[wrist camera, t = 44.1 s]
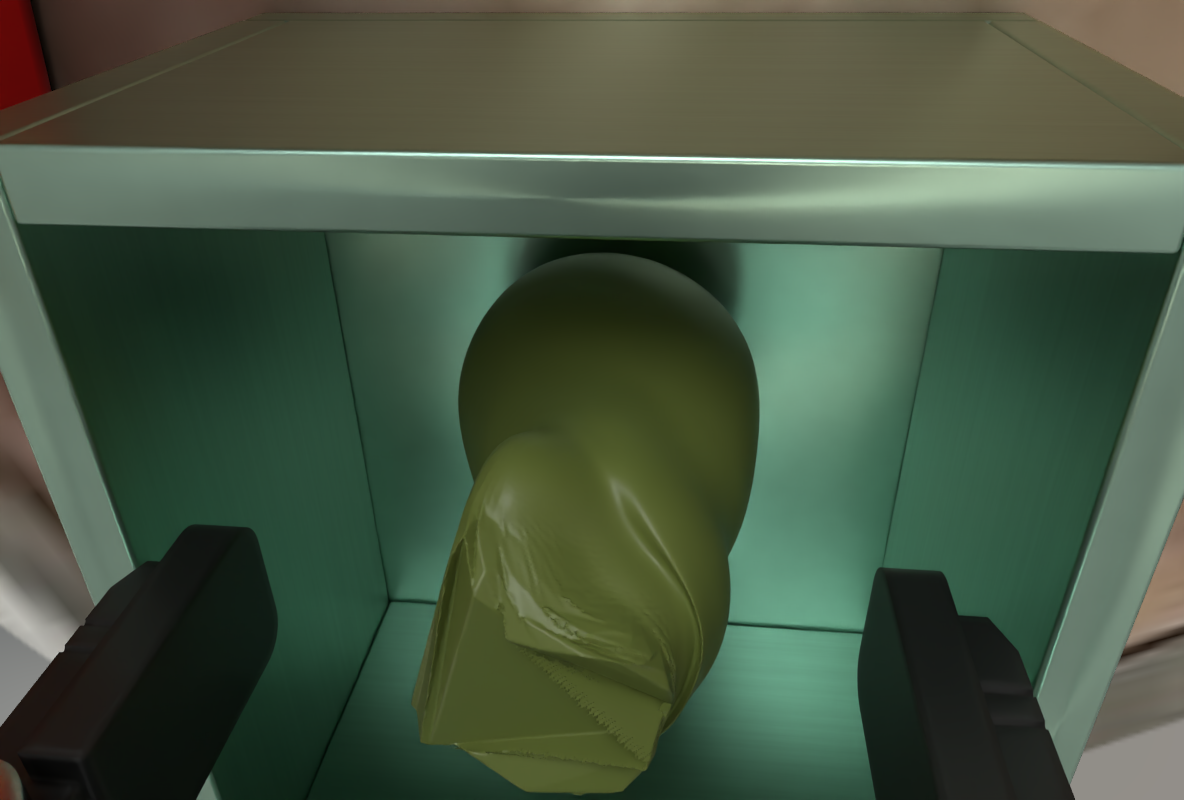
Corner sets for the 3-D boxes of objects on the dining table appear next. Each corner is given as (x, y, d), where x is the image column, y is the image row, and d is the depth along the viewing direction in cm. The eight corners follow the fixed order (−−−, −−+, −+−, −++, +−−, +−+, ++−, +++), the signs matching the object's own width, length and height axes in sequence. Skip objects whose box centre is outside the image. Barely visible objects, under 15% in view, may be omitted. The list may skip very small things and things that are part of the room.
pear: (697, 476, 20) (687, 926, 12) (468, 409, 20) (290, 820, 12) (791, 252, 17) (867, 637, 9) (524, 171, 17) (341, 487, 9)
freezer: (260, 12, 17) (-95, 142, 10) (1027, 11, 16) (1320, 165, 8) (371, 599, 25) (222, 928, 17) (894, 634, 23) (982, 1012, 16)
